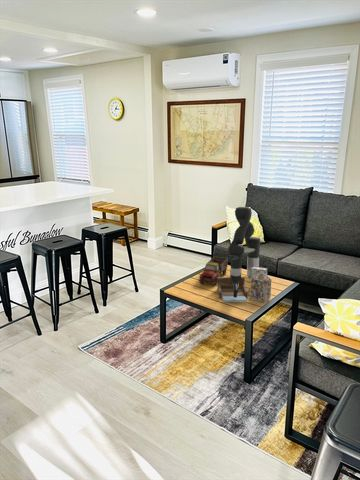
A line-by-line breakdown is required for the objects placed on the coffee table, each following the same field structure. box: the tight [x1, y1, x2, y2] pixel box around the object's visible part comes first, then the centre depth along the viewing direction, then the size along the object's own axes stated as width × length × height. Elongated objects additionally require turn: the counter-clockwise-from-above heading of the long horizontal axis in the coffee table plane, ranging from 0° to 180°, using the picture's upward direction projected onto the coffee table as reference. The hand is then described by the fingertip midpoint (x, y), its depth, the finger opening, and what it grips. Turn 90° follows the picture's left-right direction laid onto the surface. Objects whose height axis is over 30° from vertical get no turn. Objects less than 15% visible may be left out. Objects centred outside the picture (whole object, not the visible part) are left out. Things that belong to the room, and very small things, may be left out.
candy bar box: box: [250, 266, 268, 281], centre depth 279 cm, size 11×5×16 cm, turn 62°
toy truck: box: [198, 256, 229, 286], centre depth 300 cm, size 14×35×15 cm, turn 153°
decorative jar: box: [249, 274, 272, 303], centre depth 262 cm, size 12×12×18 cm
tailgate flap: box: [221, 296, 248, 303], centre depth 259 cm, size 1×16×10 cm
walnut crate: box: [216, 276, 249, 300], centre depth 271 cm, size 16×20×10 cm
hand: (235, 297), depth 256 cm, fingers closed
